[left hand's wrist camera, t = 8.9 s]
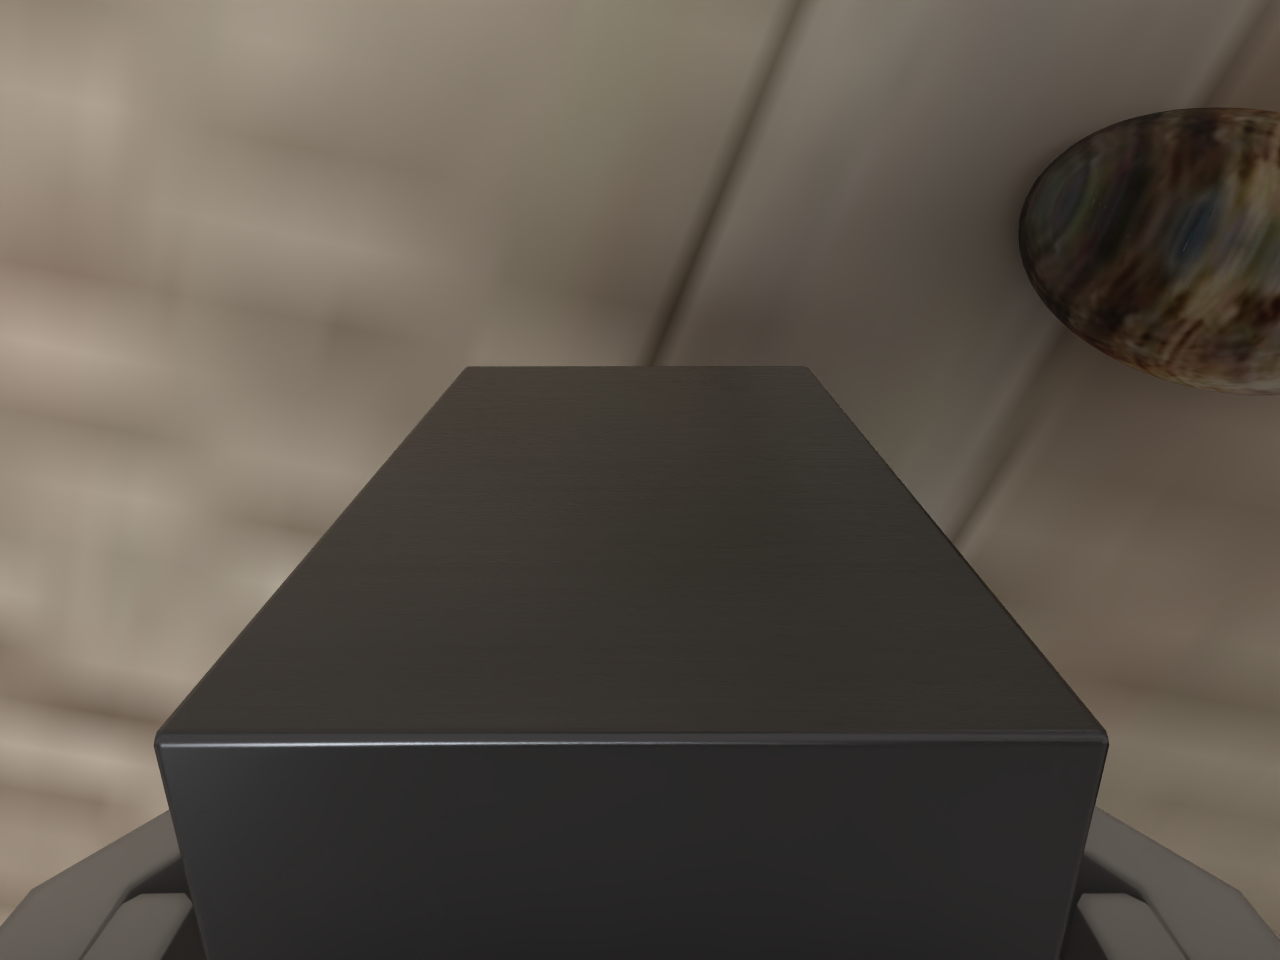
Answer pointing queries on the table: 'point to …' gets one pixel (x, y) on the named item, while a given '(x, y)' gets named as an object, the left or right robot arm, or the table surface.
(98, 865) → the left robot arm
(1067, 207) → the seashell
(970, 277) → the table surface
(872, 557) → the bar
